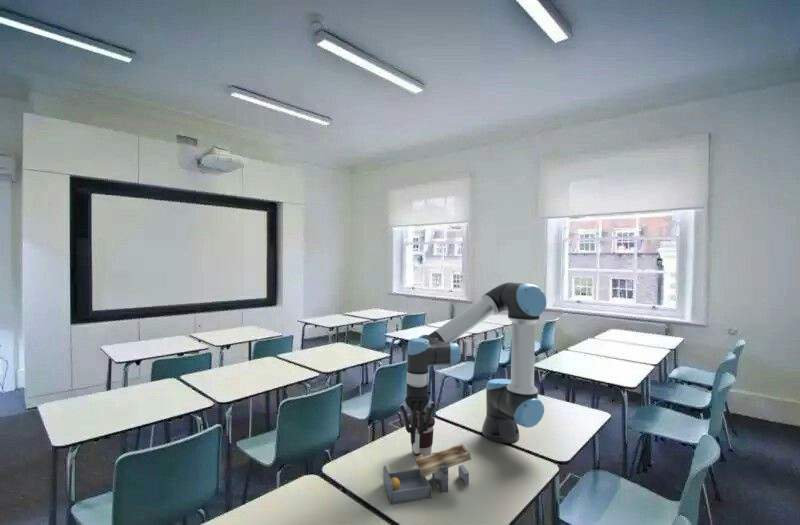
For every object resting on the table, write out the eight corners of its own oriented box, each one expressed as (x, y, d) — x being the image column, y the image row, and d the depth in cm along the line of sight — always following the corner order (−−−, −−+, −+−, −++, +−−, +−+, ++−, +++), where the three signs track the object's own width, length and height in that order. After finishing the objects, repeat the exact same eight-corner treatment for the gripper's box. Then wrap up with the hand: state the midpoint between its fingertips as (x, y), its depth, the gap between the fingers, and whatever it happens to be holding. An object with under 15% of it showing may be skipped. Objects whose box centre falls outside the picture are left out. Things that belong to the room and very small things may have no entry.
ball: (400, 476, 122) (390, 473, 122) (402, 483, 119) (393, 479, 118) (395, 487, 122) (386, 484, 121) (398, 493, 119) (388, 490, 118)
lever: (455, 440, 136) (453, 433, 136) (471, 459, 123) (469, 452, 123) (411, 455, 132) (410, 448, 132) (423, 477, 119) (421, 469, 119)
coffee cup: (433, 462, 137) (433, 421, 137) (406, 459, 139) (406, 419, 139) (436, 449, 147) (436, 410, 147) (411, 446, 149) (411, 408, 149)
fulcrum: (438, 475, 129) (438, 451, 129) (449, 493, 119) (448, 466, 119) (431, 476, 128) (431, 452, 128) (441, 494, 119) (441, 467, 119)
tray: (421, 478, 127) (421, 460, 127) (431, 497, 117) (431, 478, 117) (383, 483, 124) (383, 465, 124) (390, 504, 114) (390, 484, 114)
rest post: (462, 476, 128) (462, 465, 128) (469, 484, 124) (469, 473, 124) (458, 477, 128) (458, 465, 128) (464, 485, 123) (464, 473, 123)
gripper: (431, 379, 136) (430, 444, 136) (396, 381, 133) (395, 447, 133) (438, 386, 129) (437, 454, 129) (402, 388, 126) (400, 458, 126)
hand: (416, 451), depth 131 cm, fingers closed
